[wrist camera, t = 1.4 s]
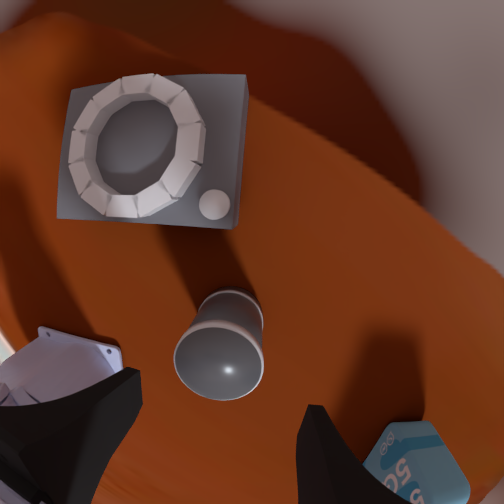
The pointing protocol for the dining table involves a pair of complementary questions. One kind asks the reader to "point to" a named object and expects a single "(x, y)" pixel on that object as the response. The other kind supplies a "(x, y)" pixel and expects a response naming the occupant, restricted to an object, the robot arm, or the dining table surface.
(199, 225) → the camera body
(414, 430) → the data package
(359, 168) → the dining table surface
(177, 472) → the dining table surface
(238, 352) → the lens
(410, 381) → the dining table surface
